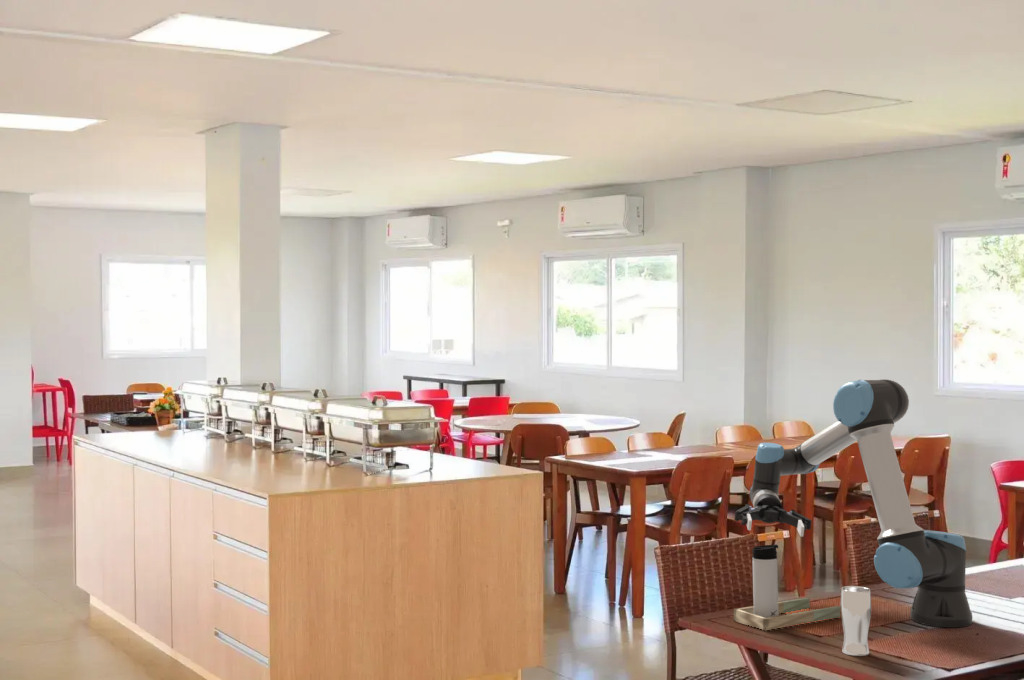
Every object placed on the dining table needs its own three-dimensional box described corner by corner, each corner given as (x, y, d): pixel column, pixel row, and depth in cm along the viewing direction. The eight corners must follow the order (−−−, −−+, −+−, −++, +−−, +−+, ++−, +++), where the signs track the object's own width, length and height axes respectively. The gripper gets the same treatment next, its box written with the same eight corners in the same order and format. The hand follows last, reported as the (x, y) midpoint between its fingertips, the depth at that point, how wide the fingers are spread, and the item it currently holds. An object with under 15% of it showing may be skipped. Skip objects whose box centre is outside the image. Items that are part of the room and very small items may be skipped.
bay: (840, 618, 305) (840, 606, 305) (765, 631, 292) (765, 619, 292) (806, 608, 315) (806, 597, 315) (733, 620, 302) (733, 609, 302)
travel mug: (780, 625, 296) (778, 547, 297) (753, 624, 298) (752, 546, 298) (779, 620, 302) (778, 543, 303) (753, 619, 304) (752, 542, 304)
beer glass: (835, 648, 276) (836, 585, 276) (864, 648, 276) (864, 585, 276) (846, 657, 269) (846, 592, 269) (875, 656, 270) (876, 592, 269)
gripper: (811, 524, 325) (822, 548, 304) (721, 514, 328) (726, 536, 307) (814, 498, 324) (826, 520, 303) (724, 488, 327) (729, 509, 306)
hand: (776, 528), depth 305 cm, fingers open, 13 cm apart
